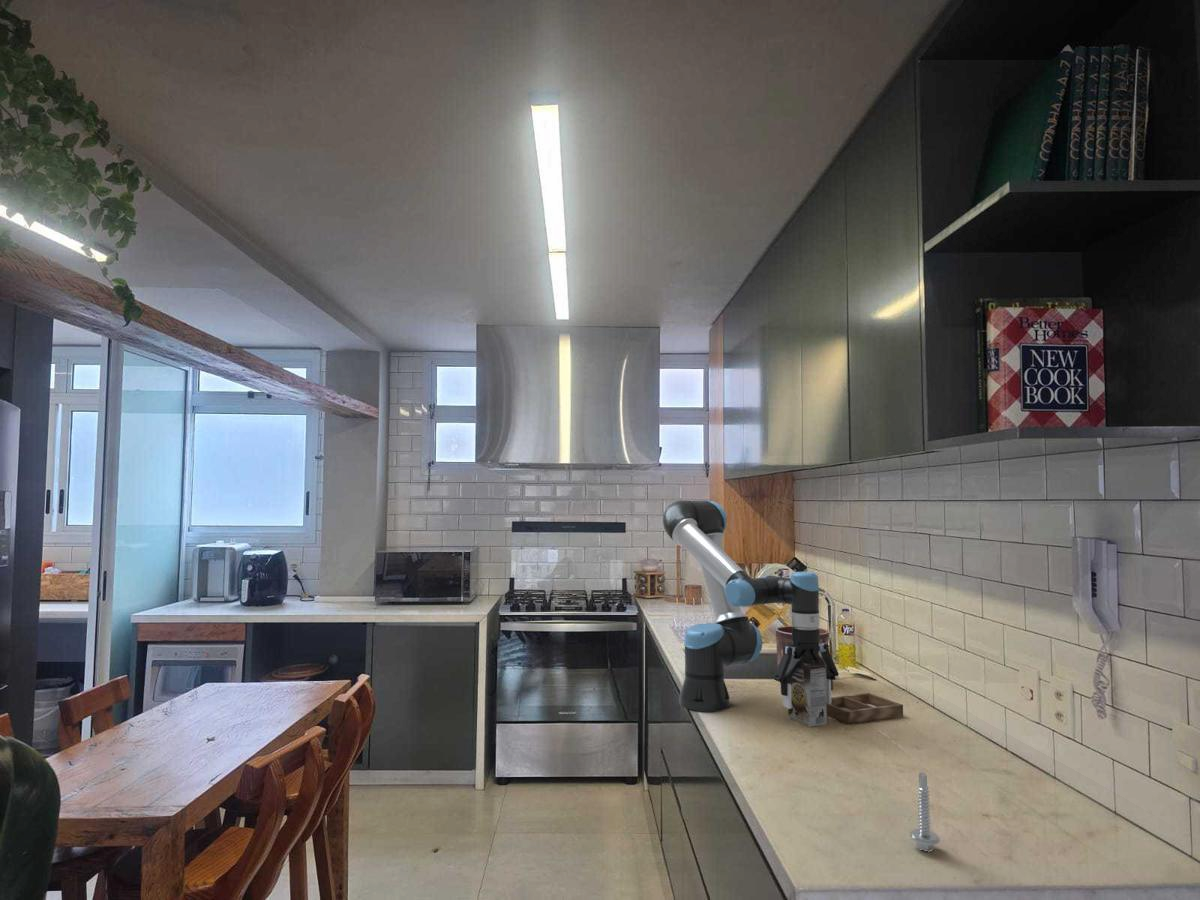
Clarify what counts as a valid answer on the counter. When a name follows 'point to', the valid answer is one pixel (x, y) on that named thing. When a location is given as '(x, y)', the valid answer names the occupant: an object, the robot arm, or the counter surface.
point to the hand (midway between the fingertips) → (807, 705)
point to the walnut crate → (863, 709)
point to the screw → (924, 819)
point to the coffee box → (809, 694)
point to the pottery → (786, 640)
